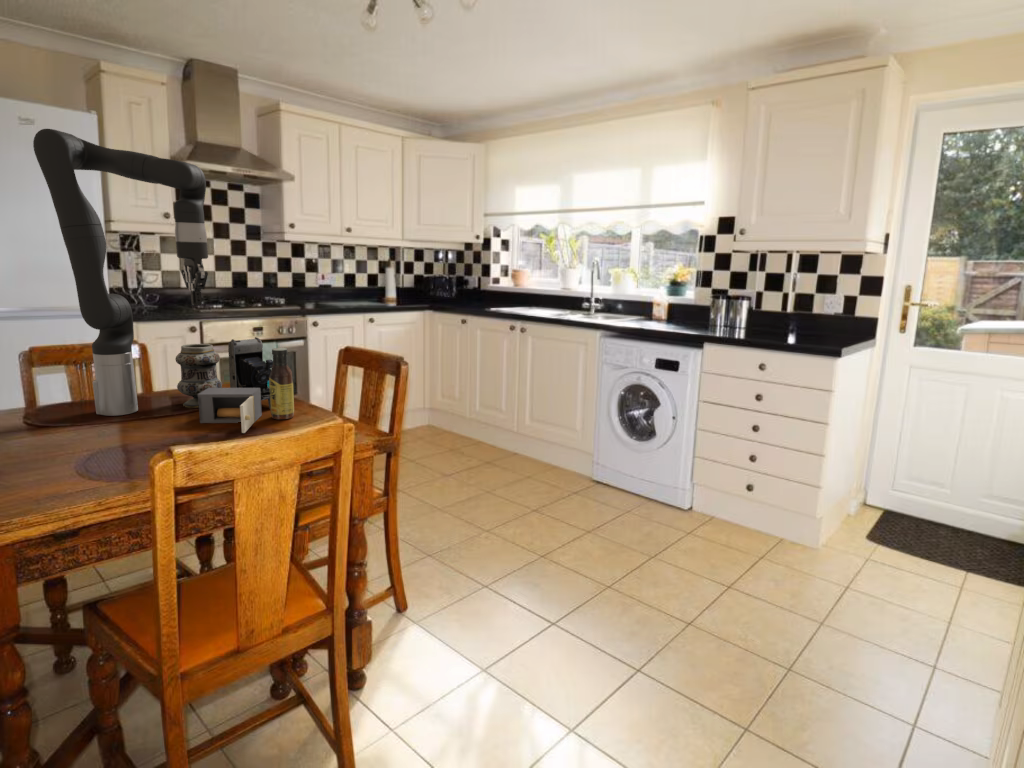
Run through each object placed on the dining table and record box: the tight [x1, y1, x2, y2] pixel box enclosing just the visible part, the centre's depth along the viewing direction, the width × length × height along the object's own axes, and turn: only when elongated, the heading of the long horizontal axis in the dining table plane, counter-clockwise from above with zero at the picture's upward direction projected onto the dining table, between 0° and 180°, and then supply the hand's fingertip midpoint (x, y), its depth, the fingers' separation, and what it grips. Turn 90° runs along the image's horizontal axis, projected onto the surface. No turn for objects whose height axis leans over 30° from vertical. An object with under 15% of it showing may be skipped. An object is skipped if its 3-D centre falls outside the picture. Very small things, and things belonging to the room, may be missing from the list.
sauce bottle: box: [268, 347, 295, 421], centre depth 170 cm, size 7×6×20 cm
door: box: [240, 396, 256, 434], centre depth 161 cm, size 11×2×7 cm, turn 9°
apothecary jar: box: [175, 343, 223, 409], centre depth 183 cm, size 12×12×18 cm
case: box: [198, 387, 263, 424], centre depth 169 cm, size 14×8×8 cm, turn 97°
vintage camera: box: [228, 336, 273, 410], centre depth 183 cm, size 10×15×20 cm, turn 53°
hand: (196, 304), depth 168 cm, fingers closed
